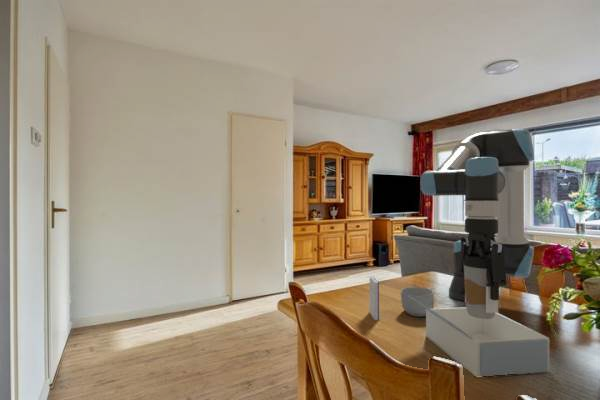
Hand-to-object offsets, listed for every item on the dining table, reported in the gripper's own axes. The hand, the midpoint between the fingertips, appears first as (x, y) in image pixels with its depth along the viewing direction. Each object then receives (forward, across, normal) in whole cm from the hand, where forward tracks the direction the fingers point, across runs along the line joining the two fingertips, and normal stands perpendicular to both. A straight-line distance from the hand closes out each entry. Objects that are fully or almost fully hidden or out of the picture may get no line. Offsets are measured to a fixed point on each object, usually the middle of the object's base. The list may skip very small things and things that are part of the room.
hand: (480, 306), depth 85 cm
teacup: (+12, -31, -2) cm, 33 cm away
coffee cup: (+2, 0, 0) cm, 2 cm away
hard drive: (+12, -29, -18) cm, 36 cm away
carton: (+12, 0, 0) cm, 12 cm away
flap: (+4, 0, -9) cm, 10 cm away
